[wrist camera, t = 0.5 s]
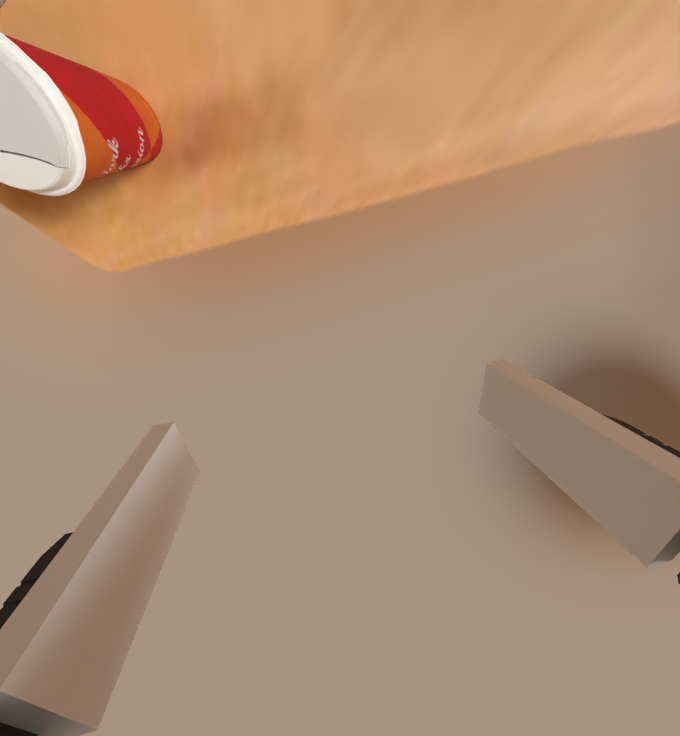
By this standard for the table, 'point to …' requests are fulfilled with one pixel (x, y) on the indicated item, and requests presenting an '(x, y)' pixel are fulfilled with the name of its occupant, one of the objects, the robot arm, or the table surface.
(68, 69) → the paper cup
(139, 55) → the table surface
